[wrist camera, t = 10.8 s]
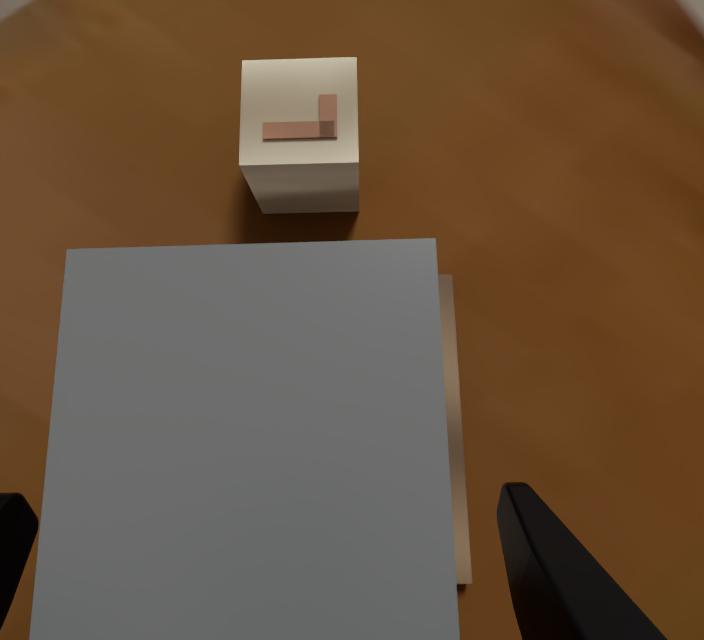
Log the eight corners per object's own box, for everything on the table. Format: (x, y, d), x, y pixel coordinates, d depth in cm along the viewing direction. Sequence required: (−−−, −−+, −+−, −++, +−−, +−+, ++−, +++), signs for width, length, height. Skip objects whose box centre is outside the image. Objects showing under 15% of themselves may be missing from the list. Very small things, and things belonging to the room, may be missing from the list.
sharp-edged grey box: (403, 512, 17) (460, 654, 7) (222, 516, 17) (27, 660, 7) (395, 333, 18) (435, 238, 8) (227, 337, 18) (67, 248, 8)
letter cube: (359, 212, 20) (358, 160, 16) (263, 214, 20) (238, 163, 16) (357, 125, 20) (356, 54, 16) (265, 127, 21) (241, 58, 17)
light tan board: (468, 577, 17) (472, 583, 16) (160, 582, 17) (153, 588, 16) (449, 278, 19) (452, 274, 18) (175, 286, 19) (169, 281, 19)
